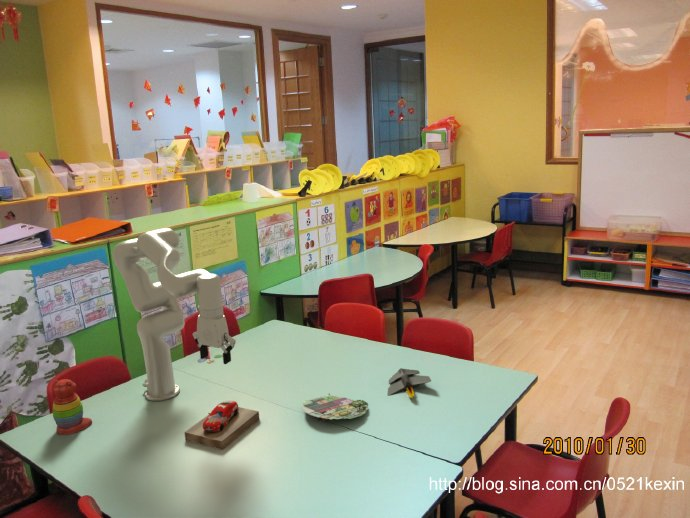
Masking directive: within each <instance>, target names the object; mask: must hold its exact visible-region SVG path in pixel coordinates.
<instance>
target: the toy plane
mask: <svg viewBox="0 0 690 518" xmlns="http://www.w3.org/2000/svg"><path fill="white" fill-rule="evenodd" d="M420 374H421V372H420V370H418V369H406V368H402V367H401V368H399V369H398V371H397V372H395V373H394V374H393V375H392V377H390V378H389V379H388V383H389V384H391V385H390V386H388V387H387V397H389V396H392V395H395V394H398V393H400V392H402V391H405V392H406V394H407V395H408V397H409V398H410V399H413V398H414V397H415V392H414V388H415V387H418V386H421V385H424V384H428V383H430V382H432V379H431V377H430V376H427V375H420Z"/></svg>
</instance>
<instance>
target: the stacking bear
mask: <svg viewBox="0 0 690 518" xmlns="http://www.w3.org/2000/svg"><path fill="white" fill-rule="evenodd" d="M76 389H77V384H76V383H75V382H74V381H72V380H71V379H67V378H65V379H64V378H63V379H60V380H58V379H56V380H54V381H53V394H54V395H55V398H54V400H53V404H52V417H53V420H54V421H55V424H56V433H57V434H59V435H63V436H64V435H70V434H71V435H72V434H74V433H78V432H80V431H82V430H85V429H86V428H87V427H90V425H92V424H93V420H92V418H89V417H83V415H84V406H83V402H82V401H81V398H80V396H79V395H78V393H76Z"/></svg>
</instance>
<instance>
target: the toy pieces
mask: <svg viewBox="0 0 690 518" xmlns="http://www.w3.org/2000/svg"><path fill="white" fill-rule="evenodd" d="M210 355H211V354H210V346H208V356H207V357H205V358H204V359H201V358H199V359H197V363H200V364H202V363H204V362H206V363H207V364H212V363H215V360H211V356H210ZM220 358H223V354H216V355H214V356H213V359H220ZM207 359H208V361H207Z"/></svg>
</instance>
